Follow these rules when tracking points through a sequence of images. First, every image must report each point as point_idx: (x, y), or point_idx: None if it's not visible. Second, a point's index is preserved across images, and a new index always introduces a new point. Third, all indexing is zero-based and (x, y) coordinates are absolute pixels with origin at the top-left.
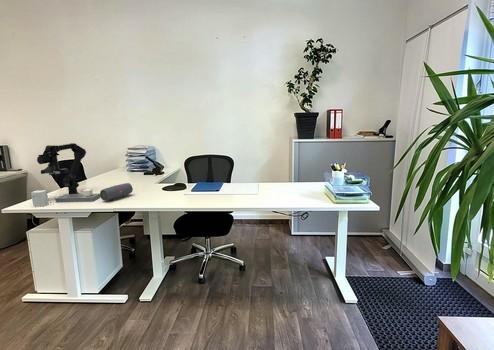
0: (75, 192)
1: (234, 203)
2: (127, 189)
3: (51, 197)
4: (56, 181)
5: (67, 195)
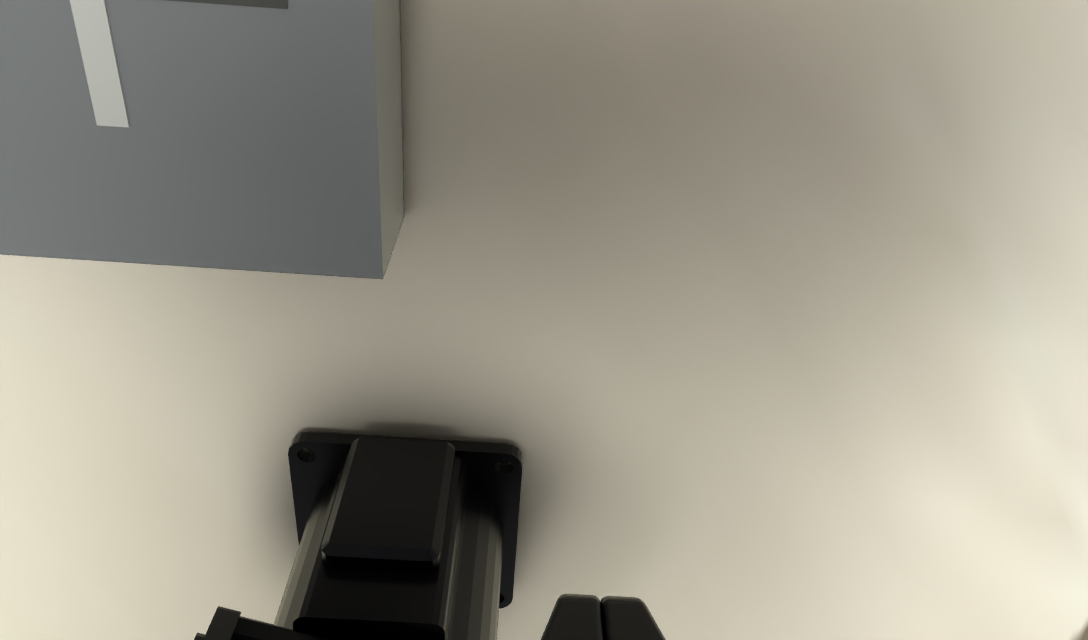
0: (304, 532)
1: None
2: None
3: (912, 326)
4: (555, 637)
5: (133, 65)
